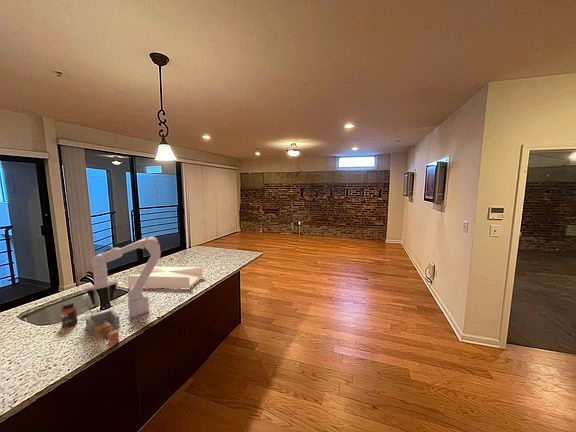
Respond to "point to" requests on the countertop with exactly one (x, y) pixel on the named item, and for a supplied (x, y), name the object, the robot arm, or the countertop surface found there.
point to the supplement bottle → (68, 314)
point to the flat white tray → (170, 277)
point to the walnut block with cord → (107, 333)
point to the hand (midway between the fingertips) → (102, 301)
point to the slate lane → (101, 319)
